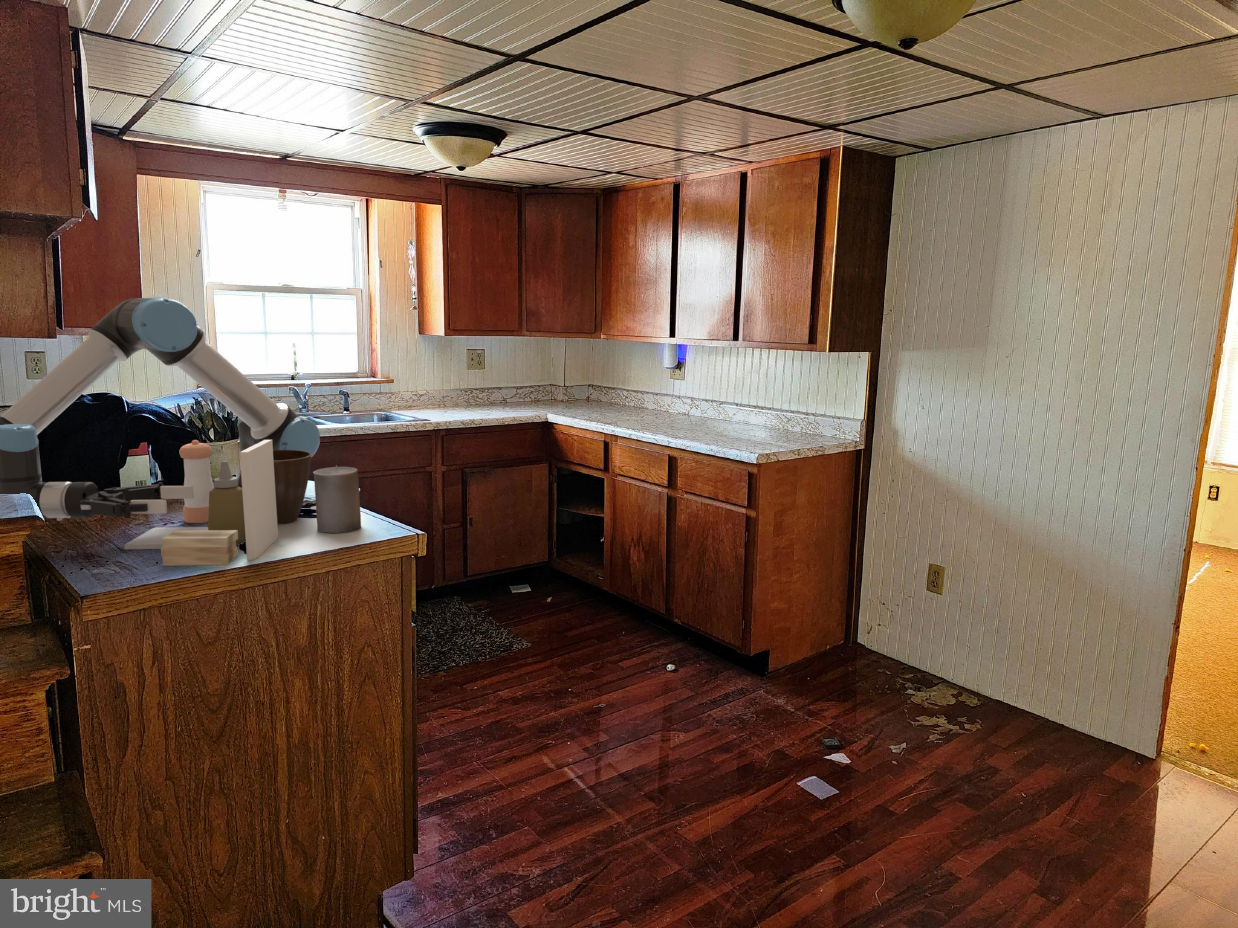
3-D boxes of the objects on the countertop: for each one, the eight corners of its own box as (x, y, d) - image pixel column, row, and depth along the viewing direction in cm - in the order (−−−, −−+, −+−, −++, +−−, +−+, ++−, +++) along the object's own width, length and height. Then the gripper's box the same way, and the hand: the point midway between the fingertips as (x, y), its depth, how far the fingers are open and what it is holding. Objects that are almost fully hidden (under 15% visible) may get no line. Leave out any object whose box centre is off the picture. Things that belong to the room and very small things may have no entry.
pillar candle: (356, 521, 195) (353, 459, 192) (365, 530, 187) (361, 466, 184) (314, 526, 191) (309, 463, 188) (320, 535, 182) (316, 470, 179)
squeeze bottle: (202, 543, 174) (196, 461, 171) (240, 536, 180) (235, 456, 177) (219, 551, 169) (212, 466, 166) (257, 543, 175) (252, 461, 172)
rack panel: (271, 538, 179) (264, 439, 175) (278, 538, 180) (272, 439, 176) (247, 559, 164) (239, 452, 160) (254, 559, 164) (247, 452, 160)
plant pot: (325, 514, 201) (322, 450, 198) (296, 529, 187) (292, 461, 184) (268, 511, 203) (264, 448, 200) (234, 527, 188) (229, 459, 185)
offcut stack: (175, 556, 165) (173, 530, 164) (240, 555, 167) (238, 529, 166) (161, 565, 159) (158, 539, 158) (228, 564, 160) (226, 538, 159)
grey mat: (154, 531, 183) (154, 527, 183) (219, 530, 185) (219, 526, 184) (124, 549, 169) (124, 544, 169) (195, 548, 171) (195, 543, 171)
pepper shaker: (219, 514, 199) (213, 437, 196) (216, 521, 192) (210, 442, 189) (186, 517, 196) (179, 438, 193) (182, 524, 190) (175, 443, 186)
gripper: (104, 503, 182) (203, 502, 185) (39, 533, 158) (155, 531, 160) (101, 471, 181) (201, 470, 183) (35, 495, 156) (151, 494, 159)
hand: (180, 499), depth 172 cm, fingers open, 13 cm apart
